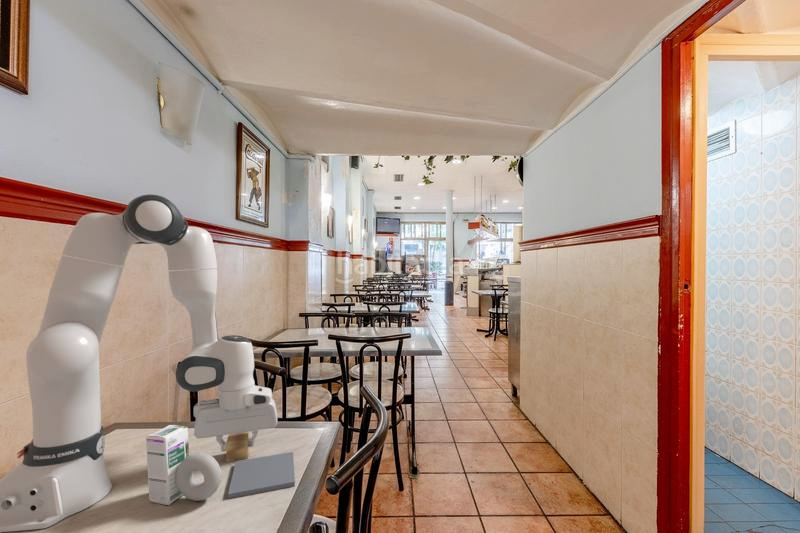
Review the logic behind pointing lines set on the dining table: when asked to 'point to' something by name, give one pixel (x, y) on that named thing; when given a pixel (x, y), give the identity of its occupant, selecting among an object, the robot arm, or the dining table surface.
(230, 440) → the oak cube
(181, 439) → the syrup box
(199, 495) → the donut
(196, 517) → the dining table surface
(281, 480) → the slate mat
